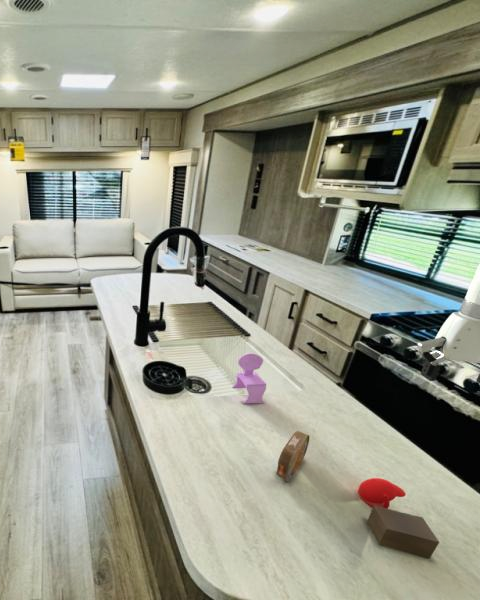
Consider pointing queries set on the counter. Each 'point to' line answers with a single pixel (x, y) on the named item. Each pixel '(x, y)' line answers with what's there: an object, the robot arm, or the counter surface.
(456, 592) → the counter surface
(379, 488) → the cap
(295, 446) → the tin
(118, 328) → the counter surface
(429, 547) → the stop block
